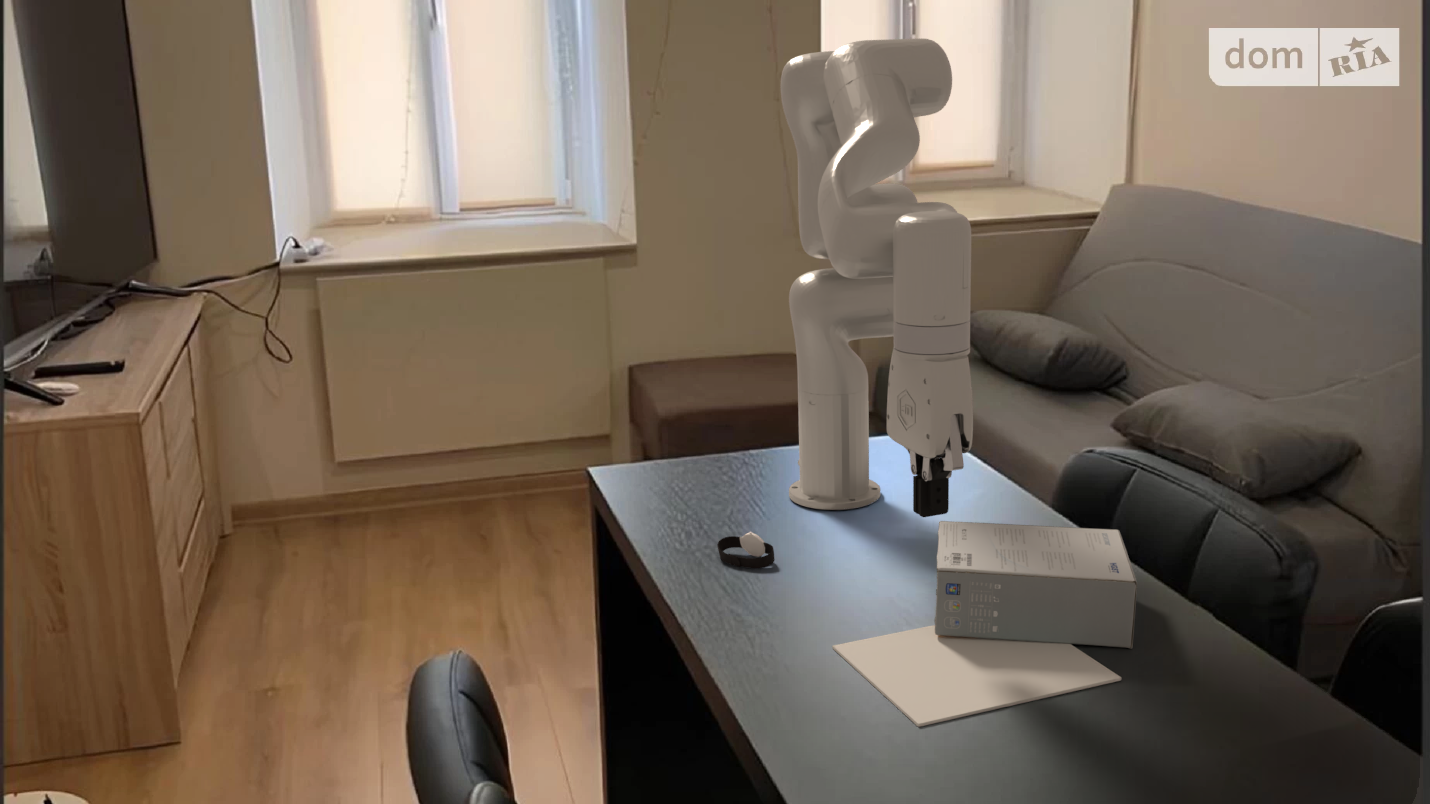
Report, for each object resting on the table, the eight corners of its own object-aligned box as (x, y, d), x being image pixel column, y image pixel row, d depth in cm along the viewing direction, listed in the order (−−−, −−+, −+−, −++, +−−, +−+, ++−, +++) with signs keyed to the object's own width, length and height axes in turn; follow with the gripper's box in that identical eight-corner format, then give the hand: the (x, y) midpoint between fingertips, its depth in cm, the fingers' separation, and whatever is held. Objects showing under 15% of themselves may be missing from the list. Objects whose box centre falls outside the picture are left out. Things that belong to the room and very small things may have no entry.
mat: (832, 648, 135) (832, 645, 135) (1016, 611, 142) (1016, 608, 142) (918, 726, 118) (918, 723, 118) (1121, 680, 126) (1121, 677, 126)
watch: (783, 562, 159) (782, 534, 158) (761, 575, 155) (760, 546, 154) (731, 550, 163) (730, 523, 162) (709, 563, 160) (707, 535, 159)
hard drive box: (932, 637, 135) (1133, 650, 132) (934, 568, 133) (1138, 579, 130) (936, 580, 150) (1117, 591, 146) (938, 517, 148) (1122, 526, 144)
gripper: (863, 328, 135) (865, 497, 140) (936, 356, 122) (935, 542, 126) (927, 321, 138) (927, 487, 142) (1005, 347, 124) (1002, 530, 129)
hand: (930, 512), depth 134 cm, fingers closed
